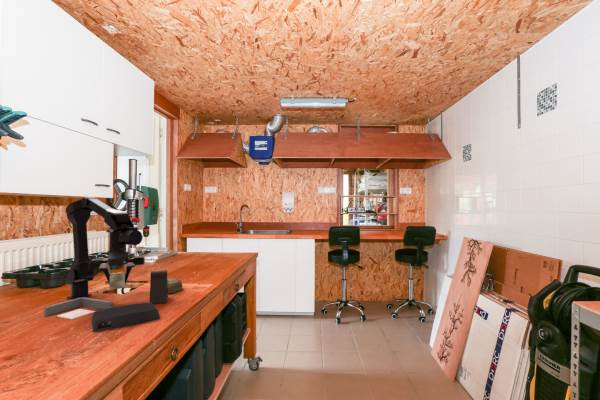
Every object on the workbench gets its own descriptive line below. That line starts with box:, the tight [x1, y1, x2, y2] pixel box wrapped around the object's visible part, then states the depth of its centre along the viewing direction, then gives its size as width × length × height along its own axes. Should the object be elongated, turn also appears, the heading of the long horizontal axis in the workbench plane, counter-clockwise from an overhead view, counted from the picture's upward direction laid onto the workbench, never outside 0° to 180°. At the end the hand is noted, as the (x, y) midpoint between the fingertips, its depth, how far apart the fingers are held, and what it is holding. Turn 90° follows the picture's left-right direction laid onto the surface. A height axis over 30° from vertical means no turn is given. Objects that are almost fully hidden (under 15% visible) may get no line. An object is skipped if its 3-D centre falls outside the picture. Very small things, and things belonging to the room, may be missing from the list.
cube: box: [109, 272, 127, 290], centre depth 126 cm, size 5×5×5 cm
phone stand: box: [148, 270, 169, 305], centre depth 129 cm, size 9×6×12 cm, turn 17°
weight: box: [167, 277, 183, 294], centre depth 145 cm, size 14×13×5 cm
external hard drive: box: [90, 301, 161, 333], centre depth 108 cm, size 13×19×4 cm
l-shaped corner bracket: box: [43, 297, 114, 321], centre depth 115 cm, size 17×13×3 cm
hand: (117, 283), depth 126 cm, fingers closed on cube, 5 cm apart
